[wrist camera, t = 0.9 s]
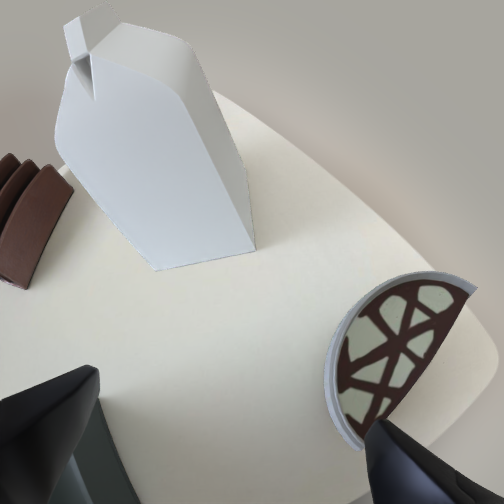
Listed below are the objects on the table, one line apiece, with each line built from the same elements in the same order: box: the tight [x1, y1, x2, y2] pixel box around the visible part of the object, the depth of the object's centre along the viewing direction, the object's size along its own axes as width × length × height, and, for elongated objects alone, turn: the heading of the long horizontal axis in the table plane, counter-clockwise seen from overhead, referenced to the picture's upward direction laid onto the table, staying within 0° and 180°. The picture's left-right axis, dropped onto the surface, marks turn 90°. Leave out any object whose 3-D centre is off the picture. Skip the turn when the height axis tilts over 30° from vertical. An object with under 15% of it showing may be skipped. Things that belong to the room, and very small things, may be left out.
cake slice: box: [324, 271, 478, 451], centre depth 19 cm, size 12×6×10 cm, turn 134°
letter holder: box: [0, 153, 74, 290], centre depth 37 cm, size 10×20×14 cm, turn 169°
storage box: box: [48, 398, 141, 504], centre depth 19 cm, size 15×17×7 cm
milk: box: [55, 1, 256, 271], centre depth 24 cm, size 12×12×26 cm
